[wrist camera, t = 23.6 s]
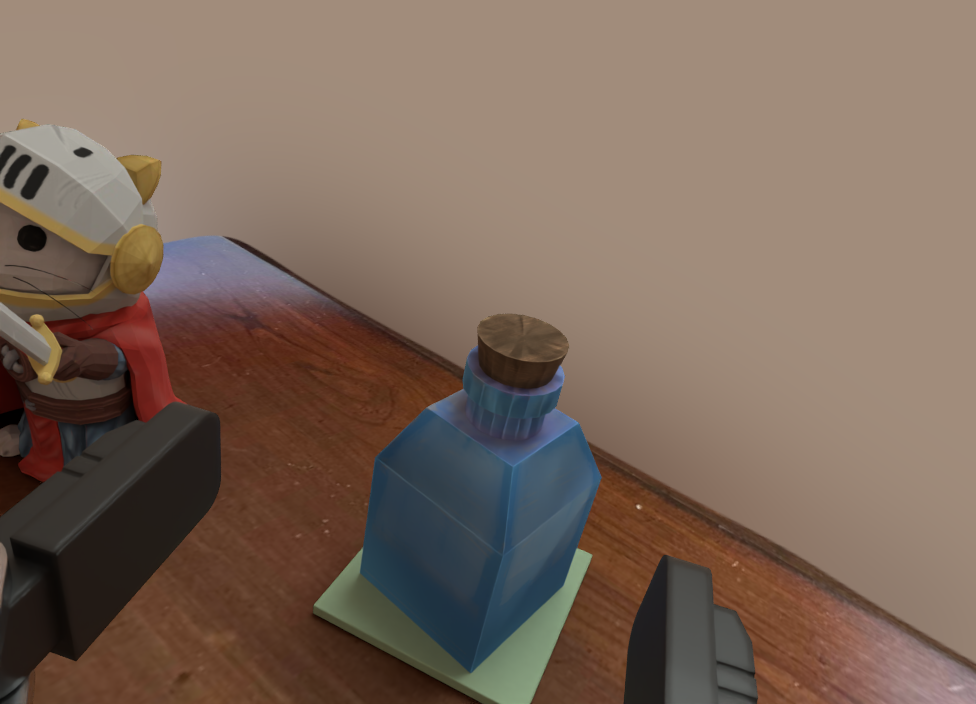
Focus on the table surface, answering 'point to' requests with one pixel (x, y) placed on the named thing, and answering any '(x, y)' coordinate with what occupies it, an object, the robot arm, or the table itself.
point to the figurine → (75, 294)
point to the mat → (494, 683)
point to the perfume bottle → (483, 495)
